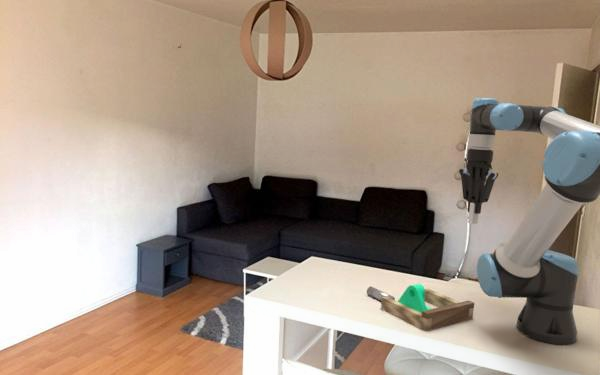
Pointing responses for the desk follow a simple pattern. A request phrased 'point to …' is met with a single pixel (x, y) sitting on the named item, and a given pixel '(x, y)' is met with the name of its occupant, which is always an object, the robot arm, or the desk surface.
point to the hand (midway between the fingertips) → (472, 223)
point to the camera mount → (414, 298)
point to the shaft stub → (377, 294)
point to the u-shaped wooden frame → (431, 311)
